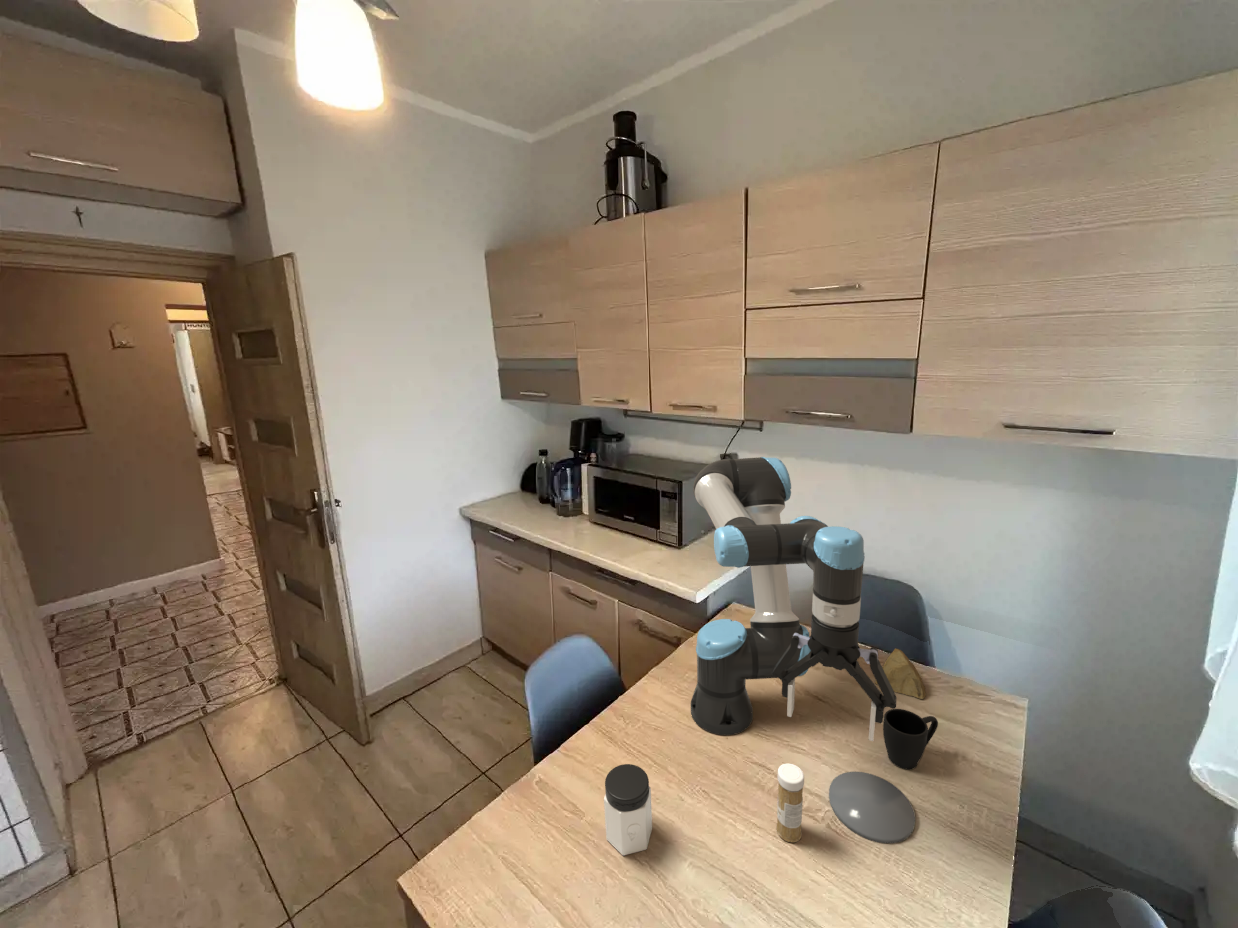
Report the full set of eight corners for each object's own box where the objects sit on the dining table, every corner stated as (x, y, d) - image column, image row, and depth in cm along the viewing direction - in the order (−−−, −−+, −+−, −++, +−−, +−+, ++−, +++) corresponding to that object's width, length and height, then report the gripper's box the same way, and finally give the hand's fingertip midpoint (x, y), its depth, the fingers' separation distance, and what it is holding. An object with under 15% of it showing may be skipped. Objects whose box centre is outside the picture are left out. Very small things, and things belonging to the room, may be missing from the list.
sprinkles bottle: (775, 819, 97) (776, 760, 94) (800, 823, 96) (802, 763, 93) (777, 841, 93) (778, 780, 90) (803, 846, 92) (805, 784, 89)
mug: (949, 767, 107) (953, 728, 105) (899, 778, 105) (902, 739, 103) (919, 738, 115) (923, 702, 113) (872, 748, 113) (875, 711, 111)
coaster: (817, 811, 98) (817, 807, 98) (843, 763, 109) (843, 759, 109) (903, 859, 88) (903, 855, 88) (922, 801, 99) (923, 797, 99)
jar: (611, 860, 91) (607, 805, 88) (602, 820, 99) (598, 769, 96) (658, 847, 93) (656, 793, 90) (646, 809, 100) (644, 758, 98)
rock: (939, 688, 127) (908, 661, 136) (928, 671, 124) (897, 645, 133) (906, 716, 127) (877, 687, 136) (895, 700, 124) (865, 671, 133)
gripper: (756, 612, 89) (755, 715, 94) (920, 645, 78) (909, 762, 82) (766, 593, 96) (764, 691, 101) (918, 622, 84) (908, 731, 89)
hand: (829, 723), depth 91 cm, fingers open, 13 cm apart
